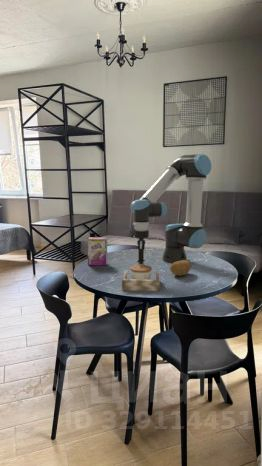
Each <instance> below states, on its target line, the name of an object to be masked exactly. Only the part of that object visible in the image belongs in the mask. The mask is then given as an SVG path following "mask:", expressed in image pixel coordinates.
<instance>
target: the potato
mask: <svg viewBox="0 0 262 466" xmlns="http://www.w3.org/2000/svg"><path fill="white" fill-rule="evenodd" d="M191 266H192V265H191V262H190V261H189V260H188V259H187V260H181V261H177V262H174V263H170V266H169V270H170V272H171V274H173V275H175V276H179V277H184V276H185V275H187V274H189V272H190V270H191Z"/></svg>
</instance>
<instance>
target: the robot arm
mask: <svg viewBox="0 0 262 466" xmlns="http://www.w3.org/2000/svg"><path fill="white" fill-rule="evenodd" d="M211 171H212V161H211V159H210V158H209V156H208V155H206V154H203V153H202V154H201V153H195V154H184V155H181V156H179V157H177V158H175V159H174V160H173V161H172V162H171V163H169V165H168V166H167V167H166V169H165V171H164V172H163V174H161V176H160V177H159V178H158V179H157V180H156V181H155V182H154V183H153V184H152V185H151V187H150V188H148V190H147V191H145V193H144V194H143V195H142V196H141V197H140V198H139V199H136V200H134V201H132V202H131V203H130V207H129V208H130V211H131V213H132V214H133V217H134V218H133V221H134V222H133V223H132V225H133V226H134V228H133V229H134V230H133V237H134V238H136V239H138V240H137V250H138V260H137V261H136V263H138V264H137V265H140V264H142V265H145V261H146V259H145V257H144V254H145V252H144V251H145V246H146V240H145V239H147V238H149V237H150V235H149V234H150V232H149V229H150V218H159V217H160V218H161V217H164V216H166V214H167V212H168V205H166V203H164V202H163V201H162V202H159V201H158V202H157V200H158V199H160V197H161V196H162V195H164V193H165V191H166V190H167V189H168V188H169V187H170V186H171V185H172V184H173V183H174V182H175V181H177V180H179V179H180V178H181V177H183V176H185V179H186V180H187V195H186V197H187V198H186V213H185V221H184V223H171V224H167V225H166V227H165V248H164V252H163V254H162V261H163V262H166V263H170V264H173V263H174V262H177V261H181V260H187V261H188V258H187V253H186V250H185V248H190V249H197V250H198V249H200V248H201V247H203V246H204V244H205V243H206V241H207V232H206V231H205V230H204V229H203V228H204V227H203V223H201V219H202V217H201V216H202V205H203V189H204V181H206V180H207V176H208V175H209V174H210V173H211Z"/></svg>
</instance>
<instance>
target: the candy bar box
mask: <svg viewBox="0 0 262 466" xmlns="http://www.w3.org/2000/svg"><path fill="white" fill-rule="evenodd" d="M87 264H88V265H87V266H98V265H99V266H101V267H103V266H105V267H106V266H107V265H108V238H107V237H94V236H93V237H90V236H89V237H88V238H87Z"/></svg>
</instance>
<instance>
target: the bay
mask: <svg viewBox="0 0 262 466" xmlns="http://www.w3.org/2000/svg"><path fill="white" fill-rule="evenodd" d="M121 290H122V291H138V292H139V291H140V292H141V291H142V292H143V291H144V292H146V291H147V292H160V271H158V270H157V271H156V272H155V279H150V280H136V279H132V278H130V279H128V271H127V270H124V271H123V274H122V279H121Z"/></svg>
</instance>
